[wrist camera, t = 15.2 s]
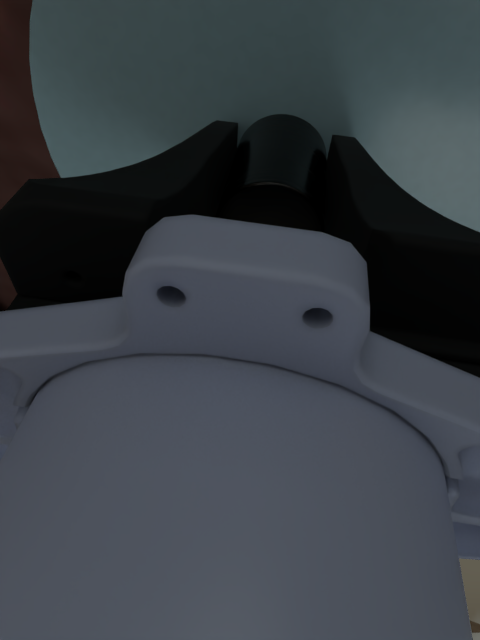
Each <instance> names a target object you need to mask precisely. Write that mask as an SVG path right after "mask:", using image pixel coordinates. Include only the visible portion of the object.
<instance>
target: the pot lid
mask: <svg viewBox="0 0 480 640" xmlns="http://www.w3.org/2000/svg"><path fill="white" fill-rule="evenodd" d="M29 60H30V69H31V78H32V87H33V95H34V100H35V104H36V109H37V113H38V117H39V122H40V126H41V129H42V132H43V135H44V138H45V141H46V144H47V146H48V149H49V152H50V155H51V158H52V160H53V162H54V164H55V166H56V168H57V170H58V173H59V175H60V177H61V178H67V177H76V176H83V175H91V174H96V173H102V172H107V171H111V170H114V169H118V168H122V167H125V166H129V165H133V164H136V163H139V162H141V161H144V160H146V159H149V158H152V157H154V156H156V155H158V154H160V153H163V152H164V151H166V150H168V149H170V148H172V147H174V146H175V145H177V144H179V143H181V142H183V141H184V140H186V139H187V138H189V137H191V136H192V135H194V134H195V133H197V132H198V131H200V130H201V129H203V128H204V127H206V126H207V125H209V124H211V123H212V122H214V121H216V120H219V121H227V122H235V123H238V137H237V150H236V154H235V157H234V160H233V163H232V166H231V169H230V172H229V175H228V178H227V181H226V184H225V188H224V191H223V194H222V197H221V200H220V203H219V206H218V209H217V212H216V216H215V218H222V219H229V220H237V221H244V222H251V223H259V224H266V225H273V226H281V227H288V228H295V229H303V230H310V231H317V232H323V233H324V231H325V197H326V161H327V157H328V152H329V148H330V143H331V139H332V135H340V136H348V137H355V138H356V139H357V140H358V141H359V142H360V144H361V145H362V146H363V147H364V149H365V150H366V151H367V152H368V154H369V155H370V156H371V157H372V158H373V160H374V161H375V162H376V163H377V164H378V165H379V166H380V168H381V169H382V170H383V171H384V172H385V173H386V174H387V175H388V176H389V177H390V178H391V179H392V180H393V181H394V182H396V183H397V184H398V185H399V186H400V187H401V188H402V189H403V190H405V191H406V192H407V193H409V194H410V195H411V196H413V197H414V198H415V199H417V200H418V201H419V202H421V203H423V204H424V205H426V206H427V207H429V208H431V209H432V210H434V211H436V212H438V213H439V214H441V215H443V216H445V217H447V218H449V219H451V220H453V221H455V222H457V223H459V224H461V225H464V226H466V227H468V228H471V229H473V230H475V231H478V232H480V0H33V2H32V9H31V16H30V52H29Z"/></svg>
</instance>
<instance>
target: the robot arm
mask: <svg viewBox="0 0 480 640" xmlns="http://www.w3.org/2000/svg"><path fill="white" fill-rule="evenodd" d="M237 137H238V123H235V122H227V121H219V120H216V121H214V122H212V123H211V124H209V125H207V126H206V127H204V128H203V129H201V130H200V131H198V132H197V133H195V134H194V135H192V136H191V137H189V138H187V139H186V140H184V141H183V142H181V143H179V144H177V145H175V146H174V147H172V148H170V149H168V150H166V151H164V152H163V153H160V154H158V155H156V156H154V157H152V158H149V159H146V160H144V161H141V162H139V163H136V164H133V165H129V166H125V167H122V168H118V169H114V170H111V171H107V172H102V173H96V174H91V175H83V176H76V177H67V178H49V179H29V180H28V181H27V182H26V183H25V184H24V185H23V186H22V187H21V188H20V189H19V190H18V191H17V193H16V194H15V195H14V196H13V197H12V198H11V199H10V200H9V201H8V202H7V204H6V205H5V206H4V207H3V208H2V209H1V210H0V257H1V260H2V262H3V264H4V266H5V268H6V270H7V272H8V275H9V277H10V279H11V281H12V283H13V285H14V287H15V289H16V292H17V294H18V295H17V296H16V298H15V299H14V300H13V302H12V303H11V305H10V306H9V308H8V309H7V310H6V311H0V640H473V638H472V632H471V626H470V621H469V615H468V609H467V603H466V597H465V592H464V586H463V580H462V574H461V568H460V562H459V558H462V559H475V560H480V232H478V231H475V230H473V229H471V228H468V227H466V226H464V225H461V224H459V223H457V222H455V221H453V220H451V219H449V218H447V217H445V216H443V215H441V214H439V213H438V212H436V211H434V210H432V209H431V208H429V207H427V206H426V205H424V204H423V203H421V202H419V201H418V200H417V199H415V198H414V197H413V196H411V195H410V194H409V193H407V192H406V191H405V190H403V189H402V188H401V187H400V186H399V185H398V184H397V183H396V182H394V181H393V180H392V179H391V178H390V177H389V176H388V175H387V174H386V173H385V172H384V171H383V170H382V169H381V168H380V166H379V165H378V164H377V163H376V162H375V161H374V160H373V158H372V157H371V156H370V155H369V154H368V152H367V151H366V150H365V149H364V147H363V146H362V145H361V144H360V142H359V141H358V140H357V139H356V138H355V137H348V136H340V135H332V139H331V143H330V148H329V152H328V157H327V161H326V197H325V231H324V233H323V232H317V231H310V230H303V229H295V228H288V227H281V226H273V225H266V224H259V223H251V222H244V221H237V220H229V219H222V218H215V216H216V212H217V209H218V206H219V203H220V200H221V197H222V194H223V191H224V188H225V184H226V181H227V178H228V175H229V172H230V169H231V166H232V163H233V160H234V157H235V154H236V150H237Z"/></svg>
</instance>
